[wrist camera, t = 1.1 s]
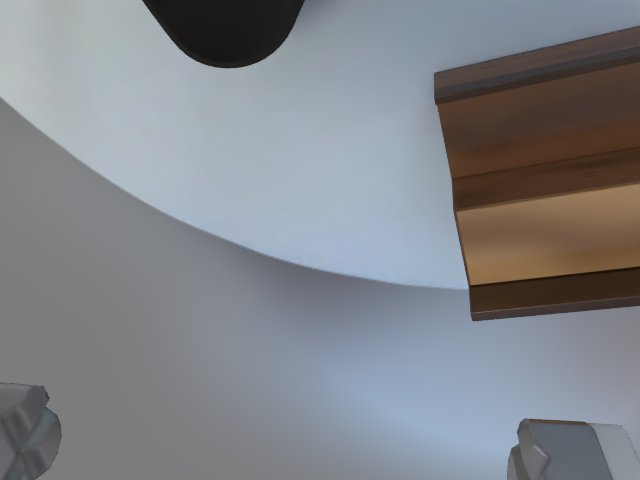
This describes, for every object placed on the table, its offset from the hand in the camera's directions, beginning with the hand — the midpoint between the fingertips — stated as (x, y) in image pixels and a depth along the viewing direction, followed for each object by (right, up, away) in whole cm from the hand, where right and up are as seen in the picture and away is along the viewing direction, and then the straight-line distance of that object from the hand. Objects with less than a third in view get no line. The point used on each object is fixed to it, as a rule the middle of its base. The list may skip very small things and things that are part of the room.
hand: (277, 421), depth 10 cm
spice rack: (+19, +10, +34) cm, 40 cm away
